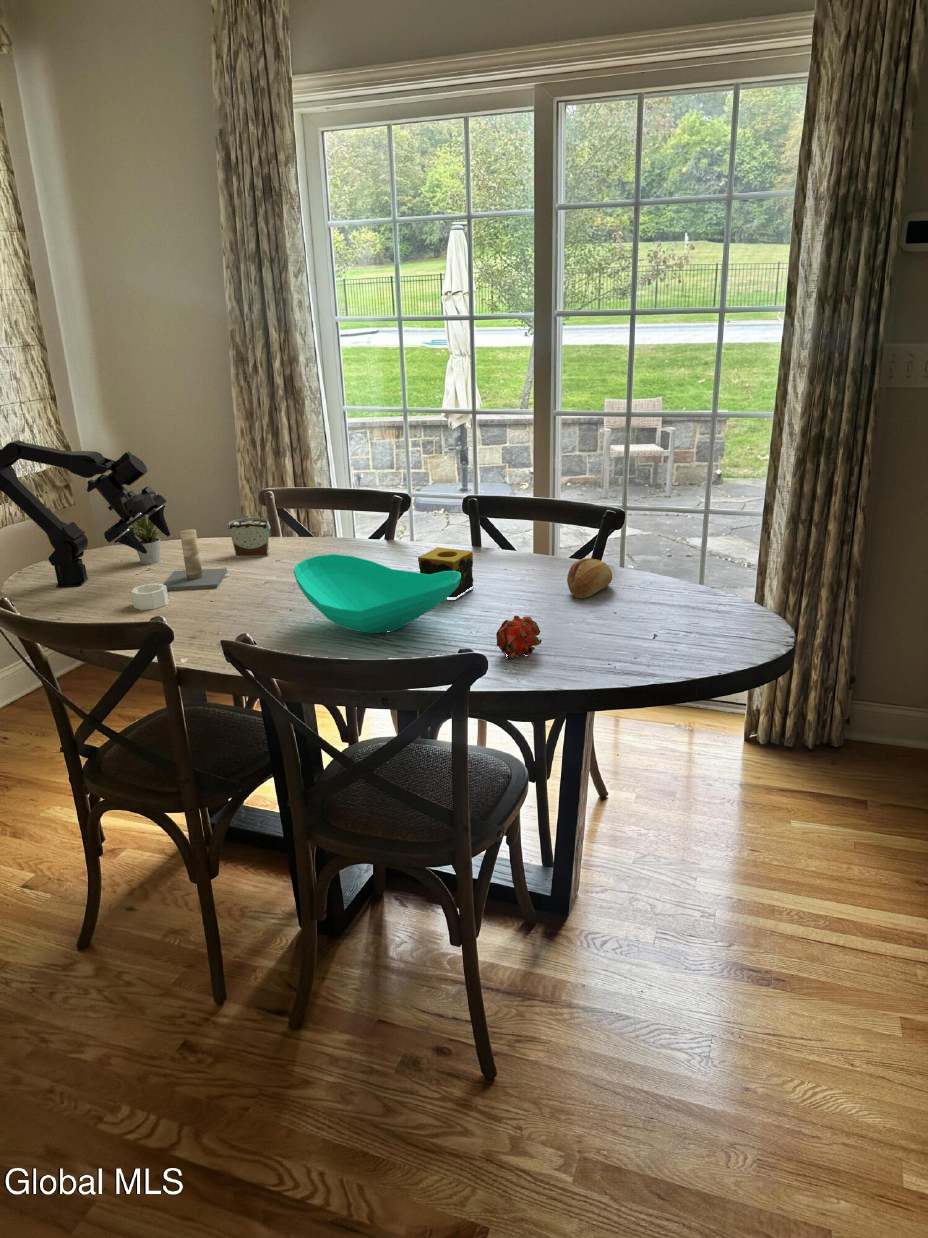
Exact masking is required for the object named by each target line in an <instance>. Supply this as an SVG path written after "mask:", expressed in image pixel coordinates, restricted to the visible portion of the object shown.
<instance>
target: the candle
mask: <svg viewBox="0 0 928 1238" xmlns="http://www.w3.org/2000/svg"><path fill="white" fill-rule="evenodd" d="M473 557H474V554H473V551H471V550H465V549H458V548H457V549H455V548H446V547H445V548H444V547H439V546H438V547H435V548H434V549H432V550H430V551H428V552H426V553H423V554H422V555H419V556H418V557H417V562H418V569H419V573H423V574H429V575H430V574H434V573H439V572H444V571H457V572H460V573H461V579H460V583H459V586H458V587H457V588H456V589H455V590H454V591H453V593H452V594H451V595H450V596H449V597H457V596H458V595H460V594H461V593H463V592H465V591H466V590H467V589H469V588H470V587H472V586H473V587H474V577H473V576H474V575H473V565H474V558H473Z"/></svg>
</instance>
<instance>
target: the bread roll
mask: <svg viewBox="0 0 928 1238" xmlns="http://www.w3.org/2000/svg"><path fill="white" fill-rule="evenodd" d="M612 581H613V572H612V569H611V568H610V567H609V565H608V564H607V563H606V562H604V561H602V560H600V559H595V558H592V557H588V558H581V559H579V560H577V561H575V562H574V563H572V565H570V568H569V570H568V573H567V577H566V582H567V588H568V589H569V592H570V593H571V595H572V596H574V597H575V598H577V599H585V598H588V597H592V595H594V594H597V593H598V592H600V591H601V590H603V589H605V588H607V587H608V586H610V584H611V582H612Z"/></svg>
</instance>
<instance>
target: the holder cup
mask: <svg viewBox="0 0 928 1238" xmlns="http://www.w3.org/2000/svg"><path fill="white" fill-rule="evenodd" d="M163 584H164V583H160V582H159V583H145V584H142V585H139V586H135V587H133V589H132V590H131V591H130V594H131V598H132V600H131V601H132V605H133V608H135V609H137V610H140V611H143V610H146V611H147V610H155V609H159V608H161V607H162V608H163V607H164V606H165V607H166V606H167V605H168V603H169V602H170V601H169V594H168V591H167V587H166V585H163Z"/></svg>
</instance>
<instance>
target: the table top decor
mask: <svg viewBox="0 0 928 1238" xmlns="http://www.w3.org/2000/svg"><path fill="white" fill-rule="evenodd" d="M293 574H294V575H293V576H294V577H295V582H296V583H297V585H298V588H299V590H300V591H301V592H302V594H303V595H304V596H305V598H306V599H307V601H308V602H310V603H311V604H312V605H313V606H314V607H315V608H316V609H317V610H318V611H319V612H320V613H321V614H322V615H323V616H324V617H326V619H328V620H329V621H330V622H332V623H334V624H335V625H337V626H339V627H341V628H345V629H348V630H351V631H356V632H361V633H367V634H381V633H380V632H387V631H392V632H394V630H395V631H397V630H400V629H401V628H403V627H404V626H406V625H407V624H410V623H411V622H413V621H414V620H417V619H418V618H419V617H422V616H423V615H425V614H426V613H429V612H430V611H432V609H434V608H436V607H437V606H439V605H440V604H442V603H443V602H444V601H446V600H445V599H446V598H447V597H449V596H450V595H451V594H452V593H453V591H454V590H455V589H456V588H457V587H458V586H459V583H460V579H461V573H460V572H457V571H444V572H439V573H434V574H430V575H429V574H423V573H420V572H417V571H410V570H403V569H402V570H401V569H393V568H390V567H388V566H385V565H383V564H380V563H378V562H374V561H372V560H368V559H365V558H360V557H357V556H353V555H344V554H338V553H337V554H336V553H335V554H334V553H332V554H331V553H329V554H322V555H316V556H312V557H308V558H305V559H303V560H302V561H299V562H298V563H297V564H296V565H295V566H294V570H293ZM387 633H388V632H387Z"/></svg>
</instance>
